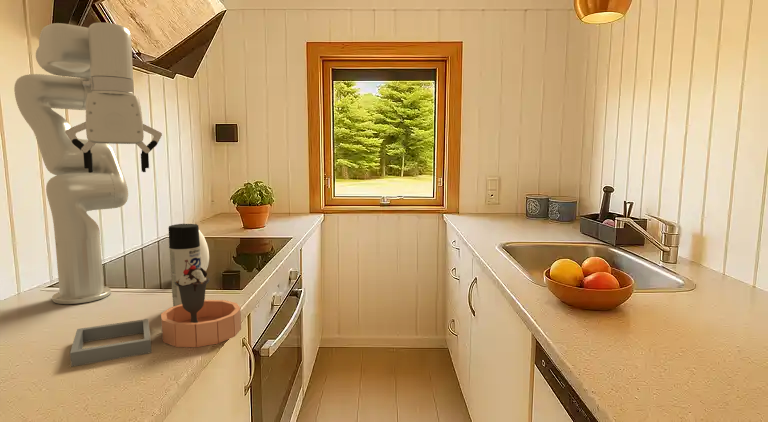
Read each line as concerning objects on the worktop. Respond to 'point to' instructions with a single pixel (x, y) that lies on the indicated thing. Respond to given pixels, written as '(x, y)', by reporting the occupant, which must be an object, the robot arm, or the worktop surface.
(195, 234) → the spray can
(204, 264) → the sauce bottle
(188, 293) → the sundae
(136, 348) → the gray square frame
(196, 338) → the bowl
